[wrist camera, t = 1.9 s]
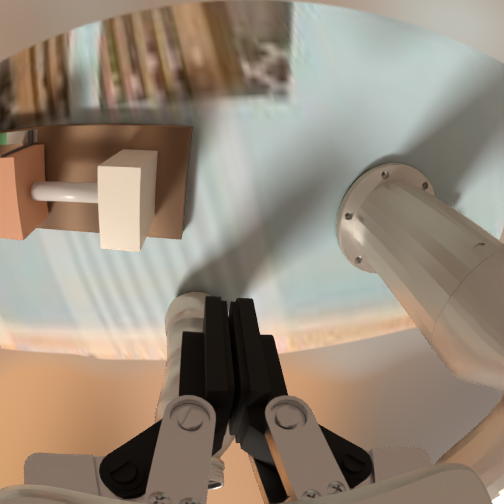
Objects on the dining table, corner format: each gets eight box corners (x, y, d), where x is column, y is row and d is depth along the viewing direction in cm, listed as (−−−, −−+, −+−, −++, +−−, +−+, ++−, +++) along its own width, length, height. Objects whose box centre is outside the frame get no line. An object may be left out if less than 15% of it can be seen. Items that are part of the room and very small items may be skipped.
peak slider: (44, 129, 20) (13, 139, 15) (48, 216, 24) (23, 240, 19) (20, 131, 19) (-12, 142, 15) (25, 215, 23) (-1, 237, 19)
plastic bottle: (168, 280, 31) (142, 466, 13) (231, 286, 32) (253, 471, 15) (167, 325, 34) (152, 490, 16) (224, 330, 35) (239, 494, 18)
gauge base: (192, 126, 24) (182, 139, 17) (182, 232, 28) (173, 280, 21) (-29, 135, 19) (-76, 154, 12) (-21, 217, 24) (-60, 250, 17)
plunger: (157, 150, 23) (140, 167, 17) (154, 218, 25) (139, 251, 20) (48, 149, 21) (11, 166, 15) (52, 211, 24) (21, 240, 18)
